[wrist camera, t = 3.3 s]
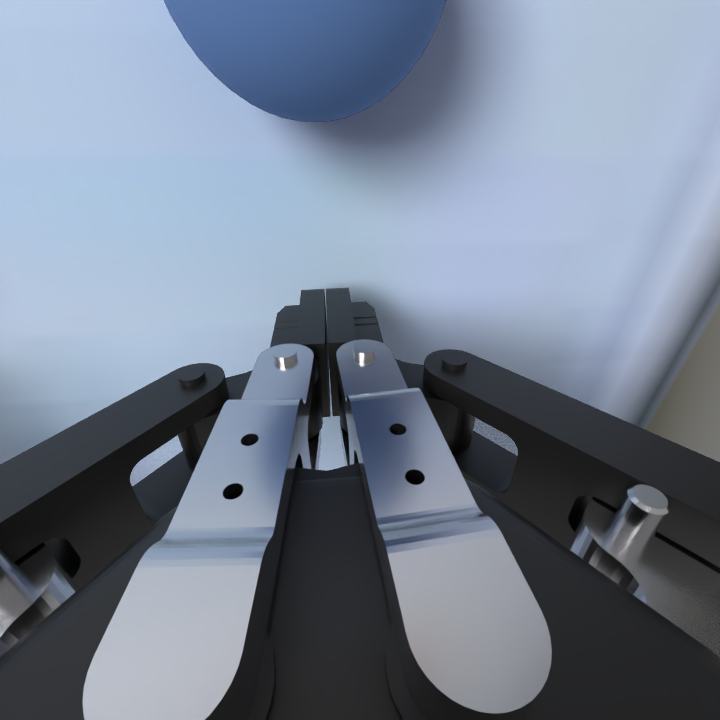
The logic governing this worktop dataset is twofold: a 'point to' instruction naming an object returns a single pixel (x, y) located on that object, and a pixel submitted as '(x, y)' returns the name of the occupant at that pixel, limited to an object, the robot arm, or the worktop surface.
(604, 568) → the robot arm
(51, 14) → the worktop surface
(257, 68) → the ball
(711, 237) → the worktop surface
